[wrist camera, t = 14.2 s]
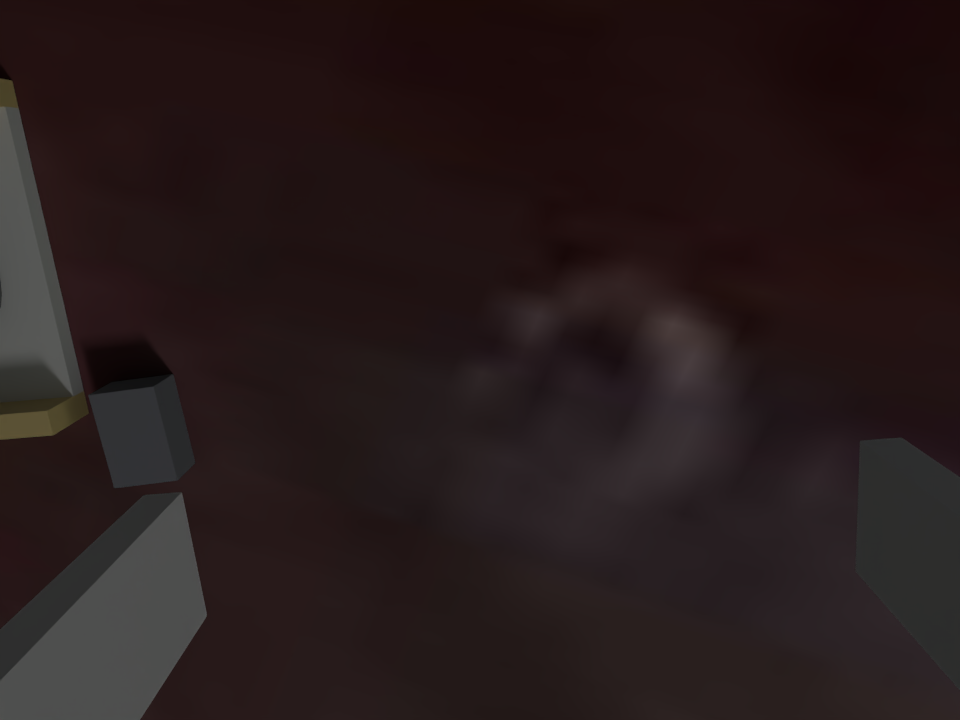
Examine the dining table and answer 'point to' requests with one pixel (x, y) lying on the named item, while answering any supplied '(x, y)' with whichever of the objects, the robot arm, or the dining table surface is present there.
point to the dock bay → (30, 301)
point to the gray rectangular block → (142, 430)
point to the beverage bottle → (0, 295)
